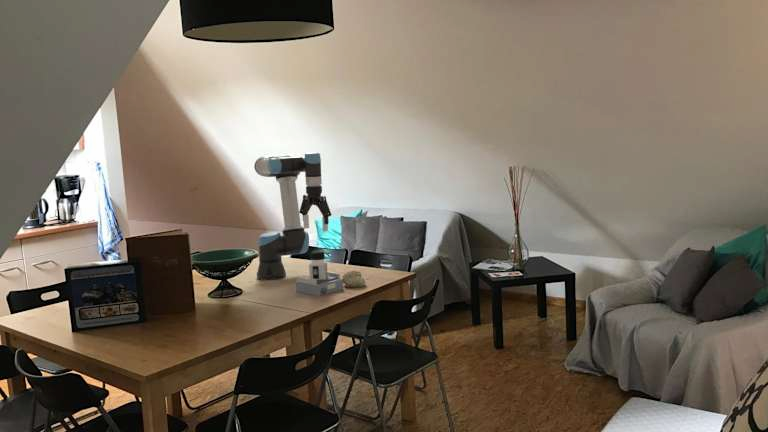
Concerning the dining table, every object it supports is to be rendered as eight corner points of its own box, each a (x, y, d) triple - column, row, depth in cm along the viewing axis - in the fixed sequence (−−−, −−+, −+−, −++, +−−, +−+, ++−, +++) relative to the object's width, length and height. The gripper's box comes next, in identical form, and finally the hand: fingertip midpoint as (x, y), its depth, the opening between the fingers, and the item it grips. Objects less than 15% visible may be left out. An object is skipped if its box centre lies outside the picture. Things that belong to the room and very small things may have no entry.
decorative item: (335, 279, 325) (344, 267, 332) (341, 294, 328) (350, 281, 336) (355, 278, 319) (364, 266, 326) (362, 293, 322) (370, 280, 330)
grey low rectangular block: (295, 291, 321) (295, 276, 320) (320, 284, 333) (319, 270, 332) (320, 296, 310) (319, 280, 309) (344, 289, 321) (344, 274, 320)
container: (326, 279, 317) (324, 252, 315) (309, 280, 317) (308, 253, 315) (327, 276, 325) (326, 249, 323) (311, 276, 325) (310, 250, 323)
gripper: (290, 185, 324) (292, 228, 328) (325, 187, 308) (327, 233, 311) (302, 183, 330) (304, 226, 333) (337, 185, 313) (339, 230, 316)
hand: (315, 229), depth 322 cm, fingers open, 13 cm apart
